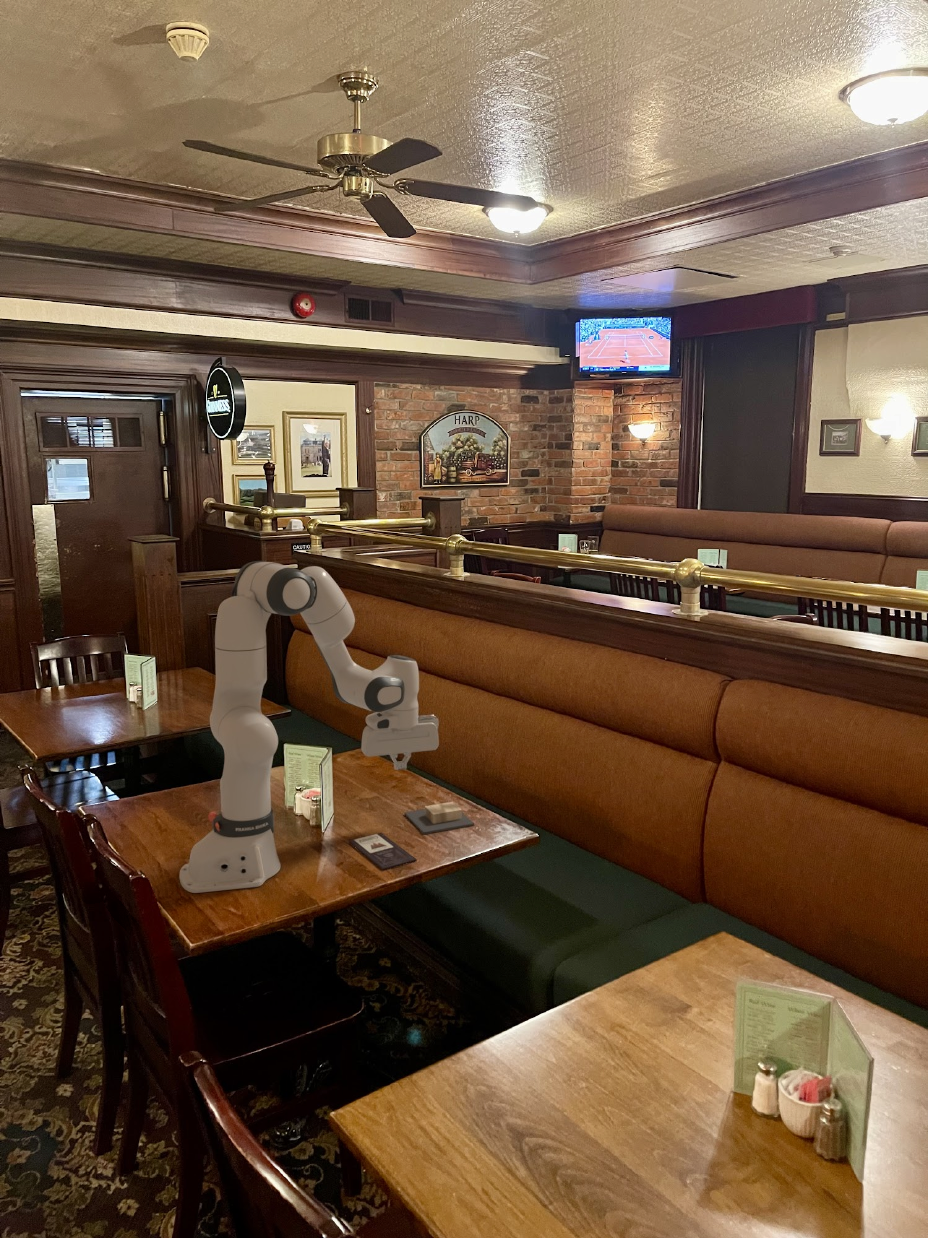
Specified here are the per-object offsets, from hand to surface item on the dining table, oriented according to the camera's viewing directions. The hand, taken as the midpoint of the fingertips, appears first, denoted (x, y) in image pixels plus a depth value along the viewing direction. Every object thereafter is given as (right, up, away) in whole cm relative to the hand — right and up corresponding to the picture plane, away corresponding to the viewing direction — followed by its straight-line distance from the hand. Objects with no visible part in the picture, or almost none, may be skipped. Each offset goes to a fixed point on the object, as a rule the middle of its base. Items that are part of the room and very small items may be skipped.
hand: (400, 769), depth 237 cm
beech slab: (+7, -12, +1) cm, 14 cm away
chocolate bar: (-3, -18, -16) cm, 24 cm away
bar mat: (+10, -14, +3) cm, 17 cm away
